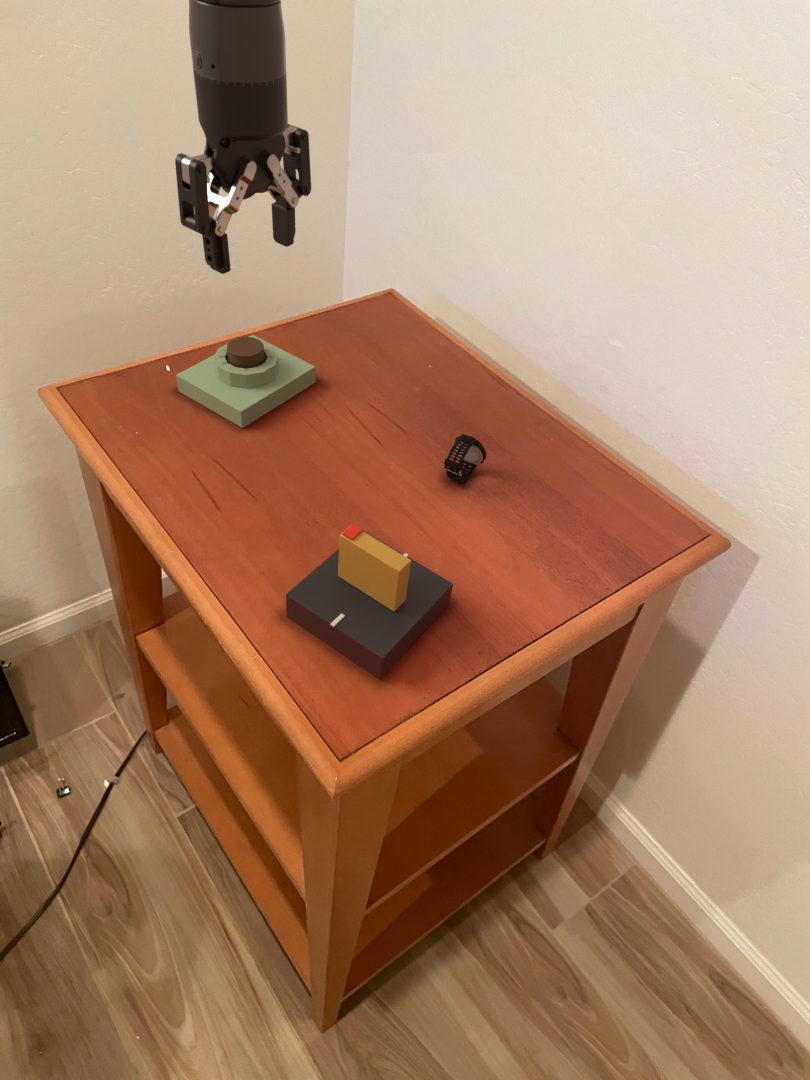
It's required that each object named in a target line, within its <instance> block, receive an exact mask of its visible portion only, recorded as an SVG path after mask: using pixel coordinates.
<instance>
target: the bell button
mask: <svg viewBox="0 0 810 1080" xmlns="http://www.w3.org/2000/svg"><path fill="white" fill-rule="evenodd" d="M226 344H227V353H228V362H229V363H230V364H231V365H233V366H234V367H238V368H245V369H248V368H254V367H258V366H260V365H262V364H263V363H264V360H265V358H264V345H263V343H262V342H261V341H260V340H258V339H256V338H252V337H249V336H239V337H235V338H233V339H231V340H230V341H228V343H226Z"/></svg>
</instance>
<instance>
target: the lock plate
mask: <svg viewBox="0 0 810 1080" xmlns="http://www.w3.org/2000/svg"><path fill="white" fill-rule="evenodd" d="M360 529H361V530H362V531H363V532H365V533H367V534H368V535H370V536H372V537H373V538H375V539H377V540H378V541H380V542H382V543H383V544H385V545H387V546H388V547H390V548H392V549H393V550H395V551H397V552H398V553H400V554H402V555H403V556H405V557H407V558H408V559H410V560H411V566H410V573H409V580H408V587H407V594H406V600H405V602H404V603H403V604H402V605H401V606H400V607H399V608H398V609H397V610H396V611H395V612H394V611H392V610H390V609H389V608H387V607H386V606H384V605H383V604H381V603H379V602H378V601H376V600H375V599H373V598H372V597H370V596H369V595H367V594H365V593H364V592H362V591H361V590H359V589H358V588H356V587H354V586H353V585H351V584H350V583H348V582H347V581H345V580H344V579H342V578H340V577H339V576H338V561H339V548H338V549H337V550H336V551H334V552H333V553H332V554H331V555H330V556H328V557H327V558H326V559H325V560H324V561H322V562H321V564H319V565H318V566H317V567H316V568H314V570H312V571H311V572H310V573H309V574H307V576H305V577H304V578H303V579H302V580H301V581H299V582H298V583H297V584H296V585H295V586H293V587H292V588H291V589H290V590H288V592H287V593H286V594H285V600H286V601H285V603H286V617H287V618H288V619H289V620H291V621H292V622H294V623H295V624H297V625H298V626H300V627H301V628H303V629H304V630H306V631H307V632H308V633H310V634H311V635H313V636H315V637H316V638H318V639H319V640H321V642H323V643H325V644H326V645H328V646H329V647H331V648H332V649H334V650H335V651H336V652H338V653H339V654H341V655H342V656H344V657H345V658H347V659H348V660H350V661H351V662H353V663H354V664H355V665H357V666H358V667H360V668H362V669H363V670H365V671H366V672H367V673H369V674H371V676H373V677H375V678H376V679H378V680H379V681H381V680H382V679H383V678H385V676H386V674H387V673H388V672H389V671H390V670H391V669H392V668H393V667H394V666H395V665H396V664H397V663H398V662H399V660H400V659H401V658H402V657H403V656H404V655H405V654H406V653H407V652H408V651H409V650H410V649H411V647H413V645H414V644H415V643H416V642H417V641H418V640H419V639H420V638H421V637H422V636H423V635H424V633H426V631H427V630H428V629H429V628H430V627H431V626H432V625H433V623H434V622H435V621H436V620H437V619H438V618H439V617H441V615H442V614H443V613H444V611H445V610H447V608H449V606H450V601H451V597H452V591H453V588H454V583H452V582H451V581H450V580H448V579H446V578H445V577H443V576H441V575H439V574H438V573H436V572H434V571H433V570H431V569H429V568H428V567H426V566H424V565H422V564H421V563H419V562H417V561H416V560H414V559H413V558H411V557H410V556H409V555H410V554H409V553H407V552H404V553H402V552H400V551H399V550H398V549H396V548H394V547H392V546H390V545H389V544H387V543H386V542H384V541H382V540H381V539H380V538H377V537H375V536H374V535H372V534H371V533H369V532H367V531H365V530H364V529H362V528H360Z"/></svg>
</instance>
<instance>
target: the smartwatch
mask: <svg viewBox="0 0 810 1080" xmlns="http://www.w3.org/2000/svg"><path fill="white" fill-rule="evenodd" d="M486 459H487V451H486V448H485V447H484V445H483V443H482V442H481V441H480V440H479V439H477V438H476V437H474V436H471V435H467V434H464V433H461V435H458V436H456V437H455V440H454V442H453V445H452V447H451V448H450V450H449V452H448V455H447V456H446V457H445V458H444V462H443V469H444V470H446V471H445V472H446V473H445V474H446V476H447V478H449V479H451V480H452V481H454V482H457V483H459V484H461V485H463V484H464V483H466V482H467V480H468V479H469V478H470V476H471V475H472V473H473V472H474V471H475V469H476V468H477V467H478V465H483V464H484V462H485V461H486Z"/></svg>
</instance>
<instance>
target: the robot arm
mask: <svg viewBox="0 0 810 1080" xmlns="http://www.w3.org/2000/svg"><path fill="white" fill-rule="evenodd" d="M188 33H189V44H190V52H191V62H192V70H193V80H194V91H195V99H196V107H197V116H198V122H199V125H200V127H201V129H202V131H203V134H204V136H205V147H204V149H203V150H204V151H203V154H199V155H193V156H190V155H187V154H185V153H182V152H181V153H178V154H177V155H176V156H175V159H174V164H175V174H176V175H175V176H176V186H177V198H178V209H179V210H178V211H179V221H180V224H181V226H183V227H184V228H188V229H189V230H191V231H194V232H195V233H198V234H200V235H201V236H202V244H203V245H202V246H203V253H204V261H205V263H206V265H207V266H209V267H210V268H211V269H212V270H213V271H215V272H217V273H219V274H222V275H224V274H227V273H229V272H231V260H230V248H229V238H228V233H226V231H227V228H228V226H229V224H230V221H231V219H232V215H234V214H236V213H237V212H238V211H240V207H241V205H242V202H243V201H244V200H247V199H250V198H252V197H253V196H254V195H256V194H264V193H268V194H269V195H270V196H271V198H272V199H273V200H275V202H273V203H271V218H272V219H271V221H272V222H271V223H272V224H271V225H272V238H273V240H274V242H275V243H276V244H279V245H280V246H284V247H285V248H288V247H290V246H292V245H294V242H295V236H296V231H297V230H296V207H297V206H298V205H299V201H300V198H302V197H303V196H304V197H308V196H309V195H310V194H311V192H312V174H311V155H310V154H311V153H310V137H309V136H310V134H309V132H308V131H307V130H306V129H304V128H301V127H299V126H296V125H293V124H290V123H289V116H288V115H289V114H288V111H289V110H288V82H287V81H288V78H287V77H288V76H287V46H286V45H287V44H286V31H285V23H284V18H283V9H282V0H188ZM281 162H282V165H281ZM282 166H283V167H282ZM297 173H298V178H297ZM221 189H222V190H223V191H224V192H225V193H227V194H228V195H227V196H225V197H224V196H222V195H220V190H221ZM217 209H218V211H217ZM216 211H217V213H216ZM215 213H216V216H215ZM214 216H215V218H214Z"/></svg>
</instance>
